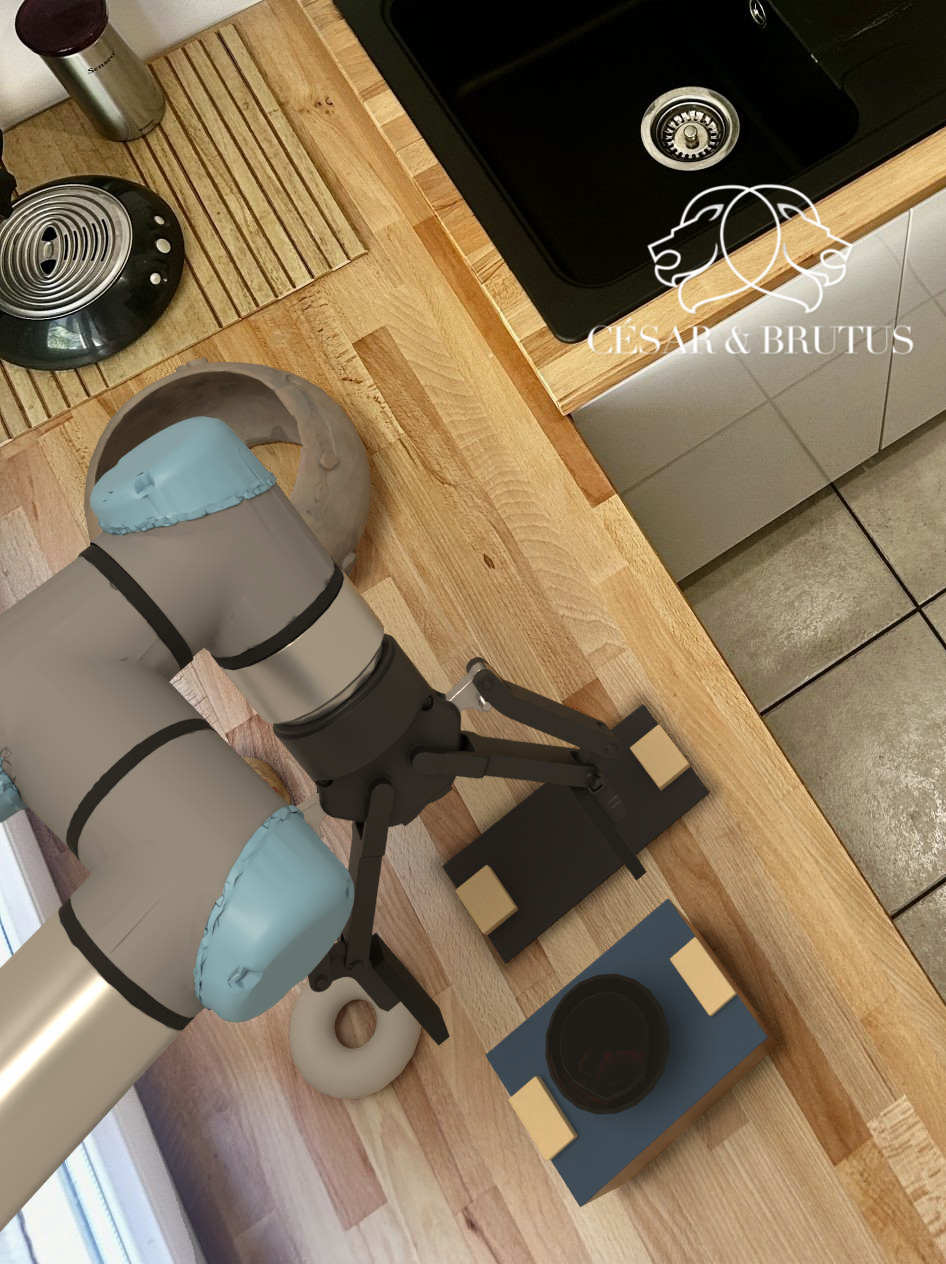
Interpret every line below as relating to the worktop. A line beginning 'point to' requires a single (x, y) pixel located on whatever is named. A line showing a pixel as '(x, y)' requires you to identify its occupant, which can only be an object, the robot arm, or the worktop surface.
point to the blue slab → (697, 1060)
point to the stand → (708, 1098)
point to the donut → (339, 1065)
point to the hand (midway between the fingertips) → (539, 944)
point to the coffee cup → (607, 1044)
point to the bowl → (257, 440)
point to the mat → (570, 839)
